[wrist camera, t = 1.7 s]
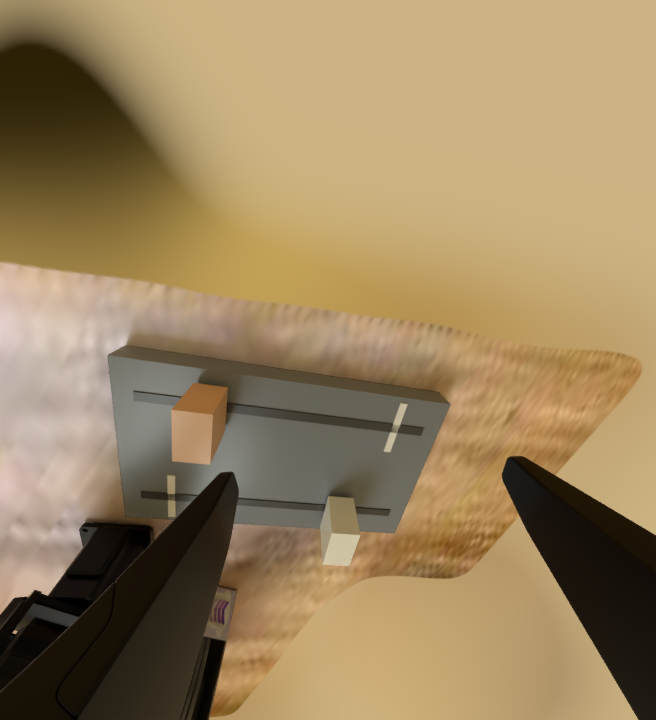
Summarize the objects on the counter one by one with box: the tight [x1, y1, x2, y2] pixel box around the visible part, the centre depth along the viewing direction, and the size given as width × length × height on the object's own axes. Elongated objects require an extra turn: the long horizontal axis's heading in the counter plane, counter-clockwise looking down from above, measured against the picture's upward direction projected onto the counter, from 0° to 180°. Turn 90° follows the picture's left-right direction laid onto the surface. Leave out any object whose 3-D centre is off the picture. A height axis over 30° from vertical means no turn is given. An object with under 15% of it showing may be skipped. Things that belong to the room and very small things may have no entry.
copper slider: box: [171, 383, 228, 465], centre depth 18 cm, size 4×2×4 cm, turn 168°
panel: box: [108, 345, 450, 533], centre depth 24 cm, size 16×26×2 cm, turn 79°
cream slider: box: [320, 496, 360, 566], centre depth 24 cm, size 4×2×4 cm, turn 168°
